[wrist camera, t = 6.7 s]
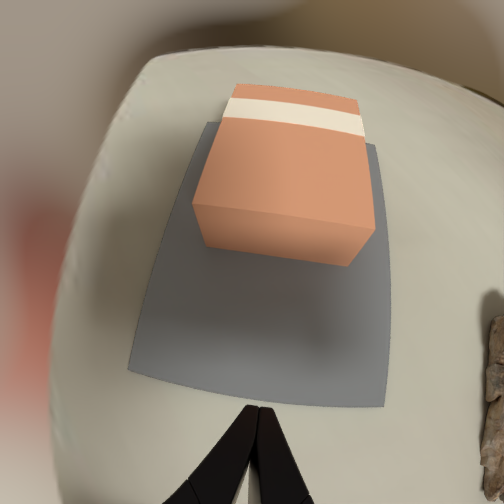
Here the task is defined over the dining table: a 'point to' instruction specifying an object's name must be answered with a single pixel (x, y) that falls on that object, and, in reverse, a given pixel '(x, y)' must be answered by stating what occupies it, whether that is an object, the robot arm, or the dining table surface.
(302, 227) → the tall box
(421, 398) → the dining table surface
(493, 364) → the weathered wood piece
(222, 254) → the mat
